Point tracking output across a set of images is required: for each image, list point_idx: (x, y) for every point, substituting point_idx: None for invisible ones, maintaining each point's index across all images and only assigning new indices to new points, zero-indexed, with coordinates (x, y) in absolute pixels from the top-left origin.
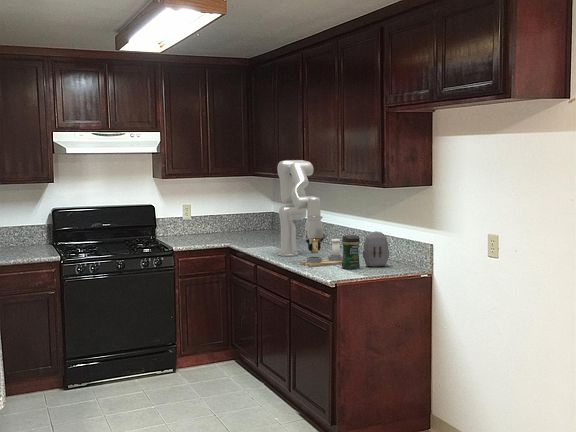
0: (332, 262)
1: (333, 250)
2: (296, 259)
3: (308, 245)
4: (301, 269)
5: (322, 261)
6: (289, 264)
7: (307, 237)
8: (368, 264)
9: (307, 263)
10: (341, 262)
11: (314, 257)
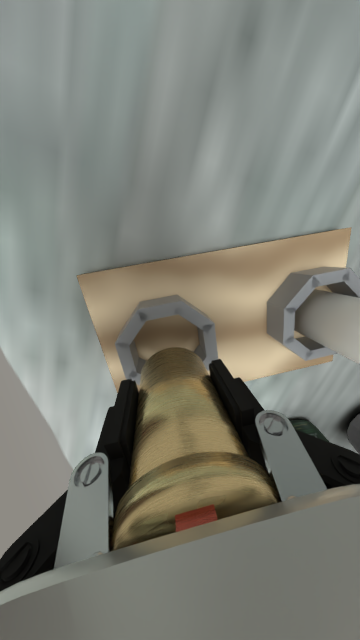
0: (254, 373)
1: (342, 350)
2: (74, 23)
3: (101, 448)
4: (73, 439)
5: (218, 333)
6: (3, 286)
7: (19, 606)
8: (351, 443)
9: (115, 376)
10: (297, 367)
11: (180, 315)
